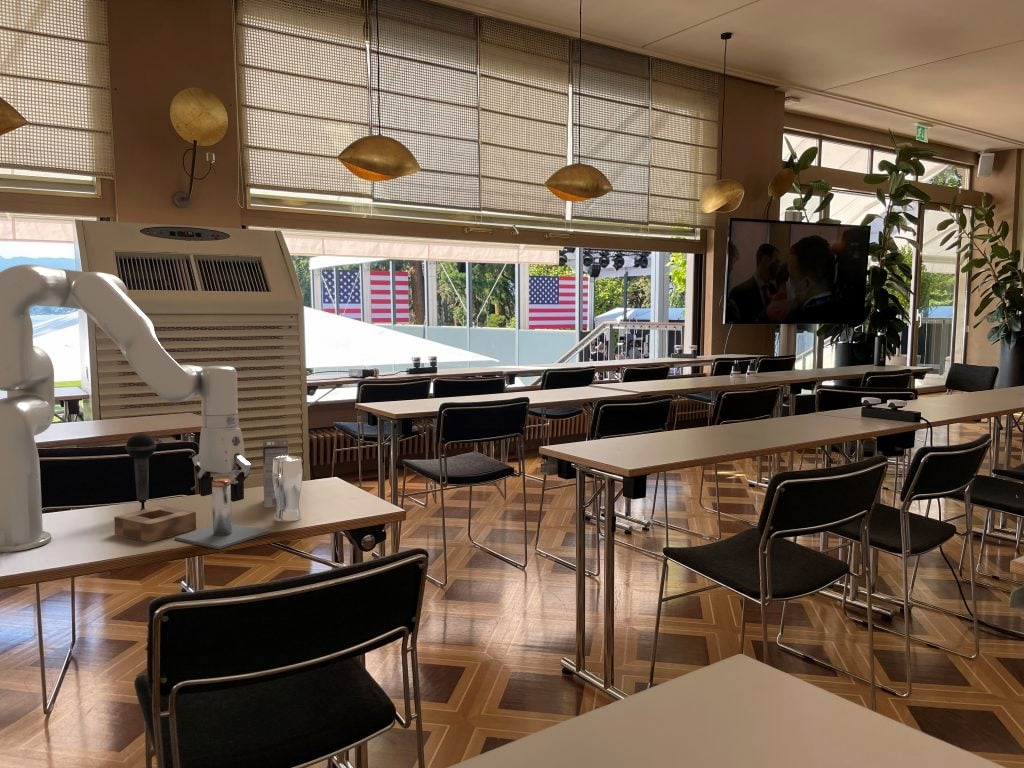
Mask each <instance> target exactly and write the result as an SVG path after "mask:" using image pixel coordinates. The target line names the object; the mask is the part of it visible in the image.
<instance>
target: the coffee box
mask: <svg viewBox="0 0 1024 768" xmlns="http://www.w3.org/2000/svg"><path fill="white" fill-rule="evenodd" d="M289 449H290V448H289V442H288V440H287V439H285V440H278V439H276V440H275V439H273V440H263V441H262V466H263V467H262V469H263V470H262V472H263V473H262V476H263V499H264V500H263V501H264V502H263V503H264V505H263V506H264V508H267V509H268V508H277V502H276V496H275V491H274V486H273V459H274V458H276V457H281V456H290V455H289V454H290V453H289Z"/></svg>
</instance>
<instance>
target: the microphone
mask: <svg viewBox="0 0 1024 768" xmlns="http://www.w3.org/2000/svg"><path fill="white" fill-rule="evenodd" d="M124 448H125V451H126V452H127V454H128V456H129V457H130V458H132V459H133V462H134V463H133V464H134V475H135V476H134V477H135V491H136V500H137V501H138V503H140V504H141V505H140V507H141V508H140V510H144V509H146V508H145V503H147V500H149V471H150V470H149V467H150V465H149V463H150V462H149V461H150V460H149V459H150V457H151V456H152V455H153V454H154V453H155V451H156V448H157V444H156V442H155V440H154V438H153V437H152V436H150V435H149V434H147V433H136V434H134V435H132V436H131V437H129V439H128V440H127V442H126V445H125V447H124ZM140 510H139V511H140Z"/></svg>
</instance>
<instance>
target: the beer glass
mask: <svg viewBox="0 0 1024 768" xmlns="http://www.w3.org/2000/svg"><path fill="white" fill-rule="evenodd" d="M273 486H274V491H275V496H276V502H277V507H276V511H275V516H274V518H275V521H276V522H279V523H291V522H297V521H300V520H301V519H302V513H301V510H300V508H301V507H300V500H301V499H300V498H301V491H302V486H303V465H302V457H301V456H298V455H297V456H296V455H289V456H281V457H276V458H274V459H273ZM299 519H300V520H299Z"/></svg>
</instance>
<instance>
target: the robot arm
mask: <svg viewBox="0 0 1024 768" xmlns="http://www.w3.org/2000/svg"><path fill="white" fill-rule="evenodd" d="M35 306H40V307H56V308H67V309H74V310H75V309H76V310H82V311H83V312H84V313H85V314H86V315H87V316H88V317H89V319H91V320H92V321H93V322H94V323H95V324H96V325H97V326H98V327H99V328H100V329H101V330H102V331H103V332H104V333H105V334H106V335H107V336H108V337H109V339H111V340H112V342H113V343H114V344H115V345H117V347H118V349H120V352H121V353H122V356H124V358H125V359H126V361H127V363H128V364H129V366H131V368H132V369H133V371H134V372H135V373H136V374H137V375H138V377H140V379H141V380H143V382H144V383H145V384H146V385H147V386H148V387H150V389H151V390H152V391H153V392H154V393H155V394H156V395H158V396H159V397H160V398H162V399H164V400H165V401H167V402H170V403H181V402H183V401H186V400H189V399H192V398H196V397H200V402H201V429H200V435H199V445H198V446H199V447H198V454H196V455H194V456H193V457H192V459H191V460H192V462H193V464H194V470H195V472H196V473H197V478H198V479H199V495H200V496H201V497H206V496H210V495H211V496H212V481H213V480H214V477H213V476H212V475H213V474H221V475H228V478H229V479H230V480H231V485H230V489H231V503H232V502H234V503H235V502H238V501H239V502H240V501H242V500H244V498H245V488H244V487H245V486H244V485H245V484H244V483H245V482H246V481H247V478H248V477H249V475H250V472H251V468H252V465H251V463H250V462H249V461H248V460H246V452H245V443H244V436H243V432H242V429H241V428H240V427H239V423H240V419H239V403H238V402H239V400H238V399H239V398H238V396H239V395H238V372H237V369H236V368H235V367H233V366H229V365H212V366H211V365H210V366H200V365H192V364H179V363H178V362H177V361H176V360H175V359H174V358H173V357H172V356H171V355H170V354H169V353H168V352H167V351H166V350H165V348H164V347H163V346H162V344H161V343H160V341H159V340H158V338H157V336H156V331H155V326H154V323H153V321H152V320H151V318H149V317H148V316H147V315H146V314H145V313H144V312H143V311H142V310H141V309H140V308H139V306H137V304H136V303H135V302H133V300H132V299H131V298H130V297H129V293H128V288H127V286H126V285H125V282H124V281H123V280H122V279H121V278H119V277H118V276H116V275H114V274H111V273H106V272H102V271H89V272H88V271H80V270H79V271H78V270H71V269H64V268H58V267H57V268H56V267H50V266H44V265H40V264H39V265H38V264H19V265H14V266H13V265H12V266H10V267H8V268H5V269H3V270H1V271H0V391H1V392H2V391H3V392H6V394H7V395H6V396H7V397H3V398H0V553H11V552H12V553H13V552H18V551H26V550H31V549H34V548H38V547H40V546H41V547H42V546H43V545H46V544H48V543H49V542H51V540H52V539H53V538H52V534H51V533H50V532H48V531H44V529H43V509H42V507H43V506H42V488H41V487H42V485H41V468H40V457H39V450H38V447H37V443H36V440H35V436H38V435H40V434H42V433H44V432H46V430H48V429H49V427H50V426H51V425H52V423H53V421H54V418H55V409H56V408H55V406H56V405H55V402H56V399H55V370H54V364H53V361H52V360H51V357H50V356H49V354H48V353H47V352H46V351H45V350H44V349H42V348H41V347H38V346H36V345H34V338H33V336H34V328H33V322H32V318H31V315H30V309H31V308H32V307H35ZM236 475H237V476H236Z"/></svg>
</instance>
